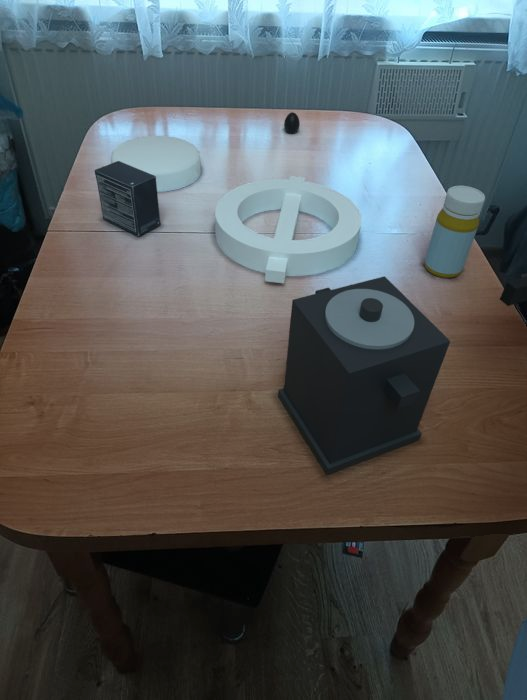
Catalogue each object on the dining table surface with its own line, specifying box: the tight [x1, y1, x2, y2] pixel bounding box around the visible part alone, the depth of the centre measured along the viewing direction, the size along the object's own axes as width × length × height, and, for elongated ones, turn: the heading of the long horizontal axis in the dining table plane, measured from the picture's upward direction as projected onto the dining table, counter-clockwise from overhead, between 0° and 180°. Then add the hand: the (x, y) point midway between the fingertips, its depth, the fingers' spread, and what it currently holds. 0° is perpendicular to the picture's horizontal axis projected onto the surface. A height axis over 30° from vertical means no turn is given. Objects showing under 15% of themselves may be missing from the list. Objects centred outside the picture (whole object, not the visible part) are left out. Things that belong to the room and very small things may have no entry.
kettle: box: [277, 276, 451, 476], centre depth 67 cm, size 20×15×20 cm
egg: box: [283, 111, 301, 135], centre depth 143 cm, size 4×4×5 cm
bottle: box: [423, 185, 486, 279], centre depth 95 cm, size 7×7×15 cm
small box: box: [94, 161, 162, 237], centre depth 104 cm, size 11×6×10 cm, turn 53°
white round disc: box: [110, 135, 202, 193], centre depth 123 cm, size 20×20×5 cm
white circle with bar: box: [214, 175, 362, 284], centre depth 105 cm, size 28×28×5 cm
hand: (507, 294), depth 67 cm, fingers closed
